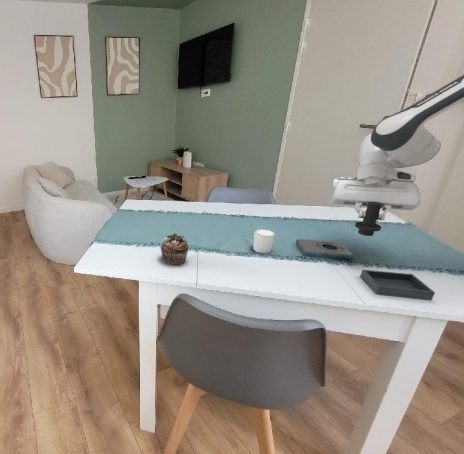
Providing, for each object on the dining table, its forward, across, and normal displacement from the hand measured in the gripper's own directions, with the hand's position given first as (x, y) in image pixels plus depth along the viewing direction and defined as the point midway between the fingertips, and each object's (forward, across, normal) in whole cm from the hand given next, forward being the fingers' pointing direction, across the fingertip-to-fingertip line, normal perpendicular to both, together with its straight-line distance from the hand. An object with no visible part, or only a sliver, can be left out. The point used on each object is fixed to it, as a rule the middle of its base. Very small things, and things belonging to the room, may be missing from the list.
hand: (371, 218), depth 88 cm
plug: (+3, 0, +4) cm, 5 cm away
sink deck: (+6, -8, +18) cm, 20 cm away
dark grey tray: (+19, +7, +6) cm, 21 cm away
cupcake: (+26, -54, -3) cm, 60 cm away
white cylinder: (+12, -27, +12) cm, 32 cm away
